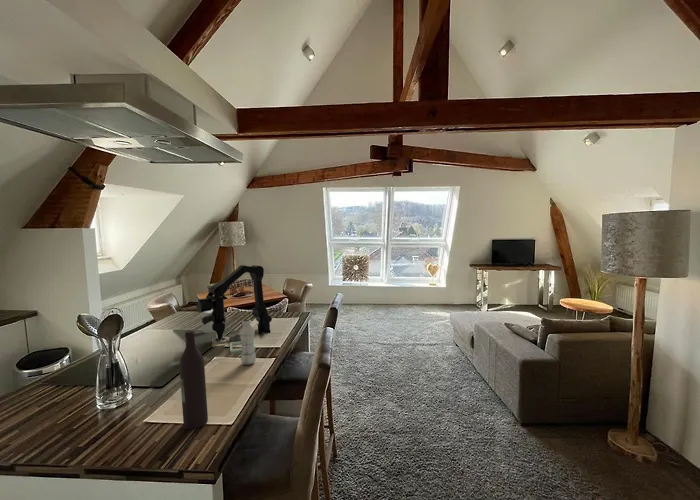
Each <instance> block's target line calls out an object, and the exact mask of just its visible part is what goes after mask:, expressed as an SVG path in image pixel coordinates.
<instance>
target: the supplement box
mask: <svg viewBox="0 0 700 500" xmlns="http://www.w3.org/2000/svg"><path fill="white" fill-rule="evenodd" d="M212 311H213V309H212V310H210V311H206V312H201V313H200V315H201V316H200V317H201V319H202V318H203V317H205V316H207V315H209V314H212ZM213 323H214V322H212V321H211V322H209V323H207V324H205V325H204V324H203V323H202V322H201V327H202V328H201V329H202V333H204V334H209V333H216V331H214V330H213V329H212V324H213Z"/></svg>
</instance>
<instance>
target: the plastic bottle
mask: <svg viewBox="0 0 700 500" xmlns="http://www.w3.org/2000/svg"><path fill="white" fill-rule="evenodd" d="M251 321H252V320H251V319H247V318H246V319H243V320H242V321H241V324H242V327H241V328H240V330H239V333H240V338H241V344H240V345H241V348H242V351H241V352H242V354H240V361H241V364H242V365H244V366H248V365H252V364H254V363H255V362H256V358H257V356H256V352H255V351H254V350H255V349H254V341H255V329H254V327H253V326H252V322H251Z"/></svg>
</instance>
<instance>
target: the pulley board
mask: <svg viewBox="0 0 700 500" xmlns="http://www.w3.org/2000/svg"><path fill="white" fill-rule="evenodd" d="M239 341H241V338H240V332H238V333H233V334H230V335H228V336H224V340H223V341H217V338H216V337H214V338H212V343H211V347H221V346H228V345H229V346H230V343H231V342H239Z"/></svg>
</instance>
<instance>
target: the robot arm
mask: <svg viewBox="0 0 700 500" xmlns="http://www.w3.org/2000/svg"><path fill="white" fill-rule="evenodd" d="M264 272H265V269H264V267H263V266H262V265H255V264H253V265H251V266H249V265H245V264H241V265H239V266H238V267H237V268H236V269H234V270H233V271H232V272H231V273H230V274H229V275H227V277H225V278H224V279H223V280H220V281H219V282H216V283H214V284H213V285H211V286H210V288H209V292H208V293H207V295H206V296H205V298H199V299H197V303H196V310H197V313H200V314H201V312H206V311H210V310H212V309H213V311H212V314H209V315H207V316H205V317H203V318H202V317H201V319H200V320H201V324H202V323H203V324H204V325H205V324H207V323H209V322H211V321H212V322H214V323H213V324H212V329H213V330H214V331H216V332H215V334H216V333H217V336H218V339H219V340H221V339H222V336H223V333H224V332H225V329H226V321H227V317H226V316H227V315H225V313H226V312H225V301H224V300H228V297H227V296H226V295H225V294H226V293H227V292H228V290H229V287H230V286H232V284H234V283H235V282H236V281H237V280H239V279H240V278H241V277H242V276H243V275H244V274H245V273H248V274H249V275H250V278H251V280H252V285H253V293H254V294H253V295H254V303H255V304H254V307H253V308H251V311H252V316H253V318H254V319H255V320H256V322H258V323H257V332H258V334H266V333H271V325H270V324H271V322H272V320H273V317H271V315H269V313H268V309H267V307H266V305H265V303H264V289H263V281H262V280H263V279H264Z"/></svg>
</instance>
